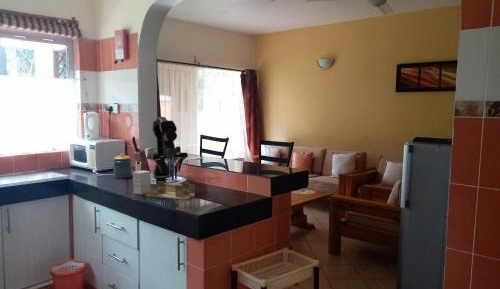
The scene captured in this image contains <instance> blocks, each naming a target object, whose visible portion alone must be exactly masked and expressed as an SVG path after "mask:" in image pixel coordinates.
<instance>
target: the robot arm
mask: <svg viewBox="0 0 500 289" xmlns="http://www.w3.org/2000/svg"><path fill="white" fill-rule="evenodd" d="M151 128H152V132H153V135H154V137H155V138H156V153H153V154H151V156H150V160H151V161H153V162H154V163H155V165H154V169H153V179H154V180H155V184H158V181H163V182H165V183H167V179H169V178H170V170H169V168H168V164H167V163H166V162H165V161H166V159H177V170H178V173H180V172H181V168H182V164H183V162H184V160H186V159H187V158H189V155H188V153H187V152H182V151H181V146H179V145H178V146H175V141H176V139H177V138H178V134H177V130H178V129H177V125H176V123H175V122H174V120H168V119H167V118H166V117H165V116H158V117H156V119H155V121H153V123H152V127H151Z"/></svg>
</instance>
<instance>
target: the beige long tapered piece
mask: <svg viewBox="0 0 500 289" xmlns="http://www.w3.org/2000/svg"><path fill="white" fill-rule="evenodd" d="M181 184H182V185H176V186H175V192H165V182H163V181H158V184H156V183H151V184H150V190H151V193H146V194H144V196H145V197H149V198H159V199H160V198H161V199H162V198H164V199H172V200H176V199H177V200H188V199H190V198H192V197H195V196H196V193H194V194H193V193H190V185H191V184H190V182H182V183H181Z"/></svg>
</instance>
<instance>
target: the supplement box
mask: <svg viewBox="0 0 500 289" xmlns="http://www.w3.org/2000/svg"><path fill="white" fill-rule="evenodd" d="M151 176H152V175H151V171H149V170H137V171H132V180H133V194H136V195H146V194H148V193H151V190H150V184H152V178H151Z"/></svg>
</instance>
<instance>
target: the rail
mask: <svg viewBox="0 0 500 289" xmlns="http://www.w3.org/2000/svg"><path fill="white" fill-rule="evenodd" d="M176 185H182V183H173V182H166V183H165V192H175V186H176ZM195 190H196V189H195V184H190V193H193V194H196V193H195Z"/></svg>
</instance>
